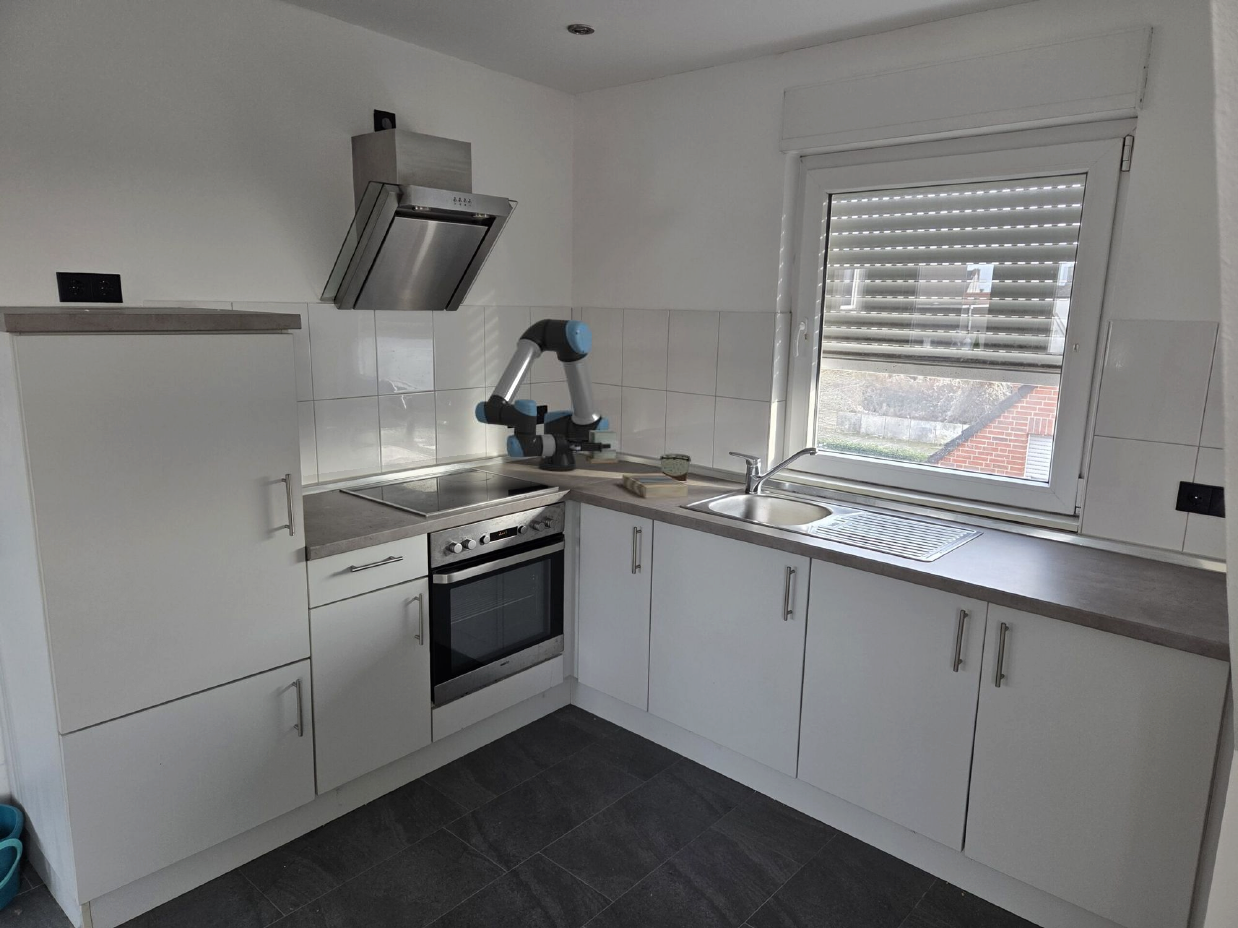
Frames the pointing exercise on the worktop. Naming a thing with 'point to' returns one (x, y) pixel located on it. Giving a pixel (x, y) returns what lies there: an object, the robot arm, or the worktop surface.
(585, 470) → the worktop surface
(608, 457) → the pale green block
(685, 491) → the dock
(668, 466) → the food container
